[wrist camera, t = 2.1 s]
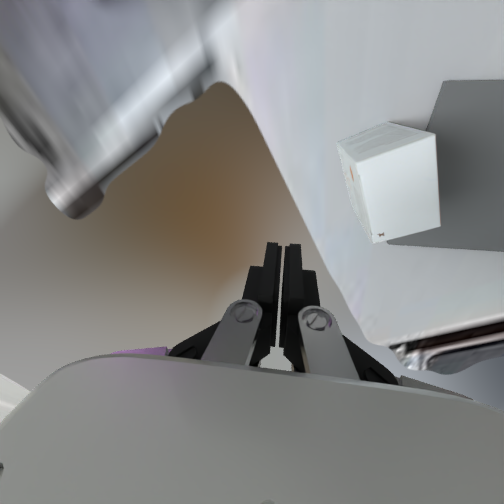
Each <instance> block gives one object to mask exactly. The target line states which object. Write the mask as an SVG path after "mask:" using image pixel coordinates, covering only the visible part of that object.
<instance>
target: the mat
mask: <svg viewBox="0 0 504 504" xmlns="http://www.w3.org/2000/svg"><path fill="white" fill-rule="evenodd" d="M426 132H430V133H434V134H436V146H437V166H438V183H439V199H440V216H441V226H440V227H436V228H433V229H429V230H426V231H422V232H418V233H414V234H410V235H406V236H402V237H398V238H394V239H390V240H387V243H388V244H391V245H407V246H423V247H438V248H454V249H470V250H486V251H502V252H504V80H473V81H443V84H442V87H441V90H440V93H439V95H438V98H437V101H436V104H435V107H434V110H433V113H432V115H431V118H430V121H429V124H428V127H427V130H426Z"/></svg>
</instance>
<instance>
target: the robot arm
mask: <svg viewBox="0 0 504 504" xmlns="http://www.w3.org/2000/svg"><path fill="white" fill-rule="evenodd" d="M281 252H282V246H278V243H272V242H271V243H270V242H268V243H267V248H266V253H265V259H264V265H263V267H259V266H250V269H249V273H248V277H247V281H246V285H245V289H244V293H243V297H242V300H238V301H235V302H234V303H232V304H230V306H229V307H228V308H227V310H226V312H225V314H224V316H223V318H222V320H221V321H219V322H217V323H216V324H214V325H212V326H210V327H208V328H206V329H205V330H203V331H201V332H199V333H197V334H195V335H194V336H192V337H190V338H188V339H186V340H184V341H183V342H181V343H179V344H178V345H176V346H175V347H174V348H173V349H167V347H157V348H146V349H135V350H124V351H117V352H113V353H111V354H107V355H99V356H94V357H90V358H85V359H82V360H79V361H75V362H73V363H70V364H68V365H65V366H63V367H61V368H60V369H58V370H56V371H55V372H53V373H52V374H50V375H49V376H48V377H47V378H46V379H44V380H43V381H42V382H41V383H40V384H38V386H36V387H35V388H34V389H33V390H32V391H31V392H30V393H29V394H28V395H27V396H26V397H25V398H24V399H23V400H22V401H21V402H20V403H19V404H18V405H17V406H16V407H15V408H14V409H13V410H12V411H11V412H10V413H9V414H8V415H7V416H6V417H5V418H4V419H3V421H2V422H1V423H0V504H504V411H502V410H499V409H497V408H495V407H491V406H489V405H485V404H483V403H480V402H477V401H474V400H473V399H471V398H468V397H466V396H464V395H461V394H458V393H455V392H452V391H449V390H445V389H443V388H439V387H436V386H433V385H430V384H427V383H424V382H421V381H418V380H414V379H411V378H408V377H405V376H401V377H400V378H398V377H395V376H394V375H393V374H392V373H391V372H390V371H389V370H388V369H387V368H385V367H384V366H383V365H382V364H380V363H379V362H378V361H376V360H375V359H374V358H372V357H371V356H370V355H369V354H367V353H366V352H365V351H363V350H362V349H361V348H359V347H358V346H357V345H356V344H354V343H353V342H351V341H350V340H349V339H348V338H346V337H345V336H344V335H342V334H341V331H340V329H339V326H338V324H337V321H336V319H335V317H334V315H333V314H332V313H331V312H330V311H328V310H327V309H325V308H323V307H320V300H319V293H318V287H317V279H316V273H315V271H313V270H302V257H301V244H290V246H285V257H284V270H283V283H282V298H281V317H280V337H279V347H281V348H284V352H283V353H284V354H283V355H284V356H285V357H286V358H287V359H288V360H289V361H290V362H291V363H292V364H291V366H292V367H291V369H292V371H284V370H277V369H268V368H261V367H260V365H261V359H262V358H264V357H265V356H267V355H268V354H270V346H273V347H275V341H276V326H277V313H278V299H279V284H280V268H281Z"/></svg>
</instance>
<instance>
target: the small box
mask: <svg viewBox="0 0 504 504" xmlns="http://www.w3.org/2000/svg"><path fill="white" fill-rule="evenodd" d="M336 145H337V148H338V152H339V156H340V160H341V164H342V169H343V173H344V177H345V181H346V185H347V189H348V193H349V197H350V202H351V205H352V207H353V209H354V211H355V213H356V215H357V217H358V219H359V220H360V222H361V224H362V226H363V228H364V230H365V231H366V233H367V235H368V237H369V239H370V241H371V243H372V244H375V243H379V242H382V241H387V240H390V239H394V238H398V237H402V236H406V235H410V234H414V233H418V232H422V231H426V230H429V229H433V228H436V227H440V226H441V216H440V199H439V183H438V166H437V146H436V134H434V133H430V132H426V131H422V130H418V129H414V128H411V127H407V126H402V125H399V124H395V123H390V122H386V123H383V124H381V125H378V126H376V127H373V128H371V129H368V130H366V131H363V132H361V133H359V134H356V135H354V136H351V137H349V138H346V139H344V140H342V141H339V142H337V143H336Z"/></svg>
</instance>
